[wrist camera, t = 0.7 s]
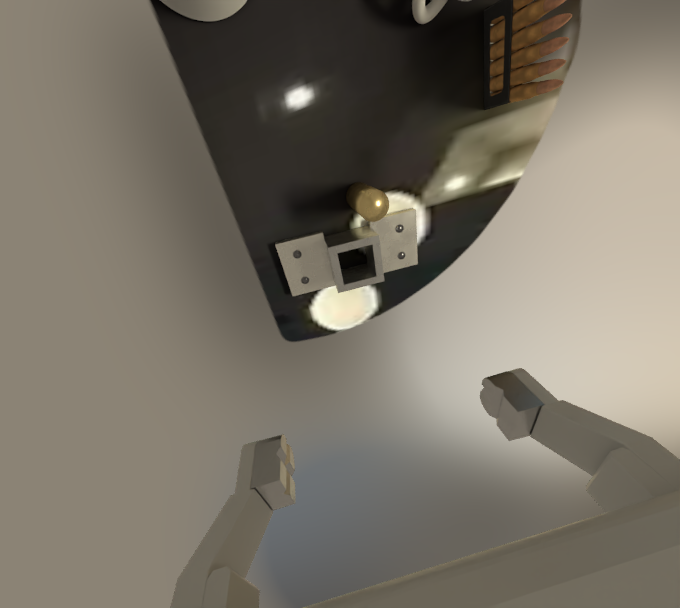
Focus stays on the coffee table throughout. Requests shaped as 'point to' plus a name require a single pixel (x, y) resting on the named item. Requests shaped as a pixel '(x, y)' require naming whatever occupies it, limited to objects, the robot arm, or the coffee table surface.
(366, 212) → the hinge pin
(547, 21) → the ammunition clip
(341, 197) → the coffee table surface
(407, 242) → the hinge
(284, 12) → the coffee table surface
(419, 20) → the knot
